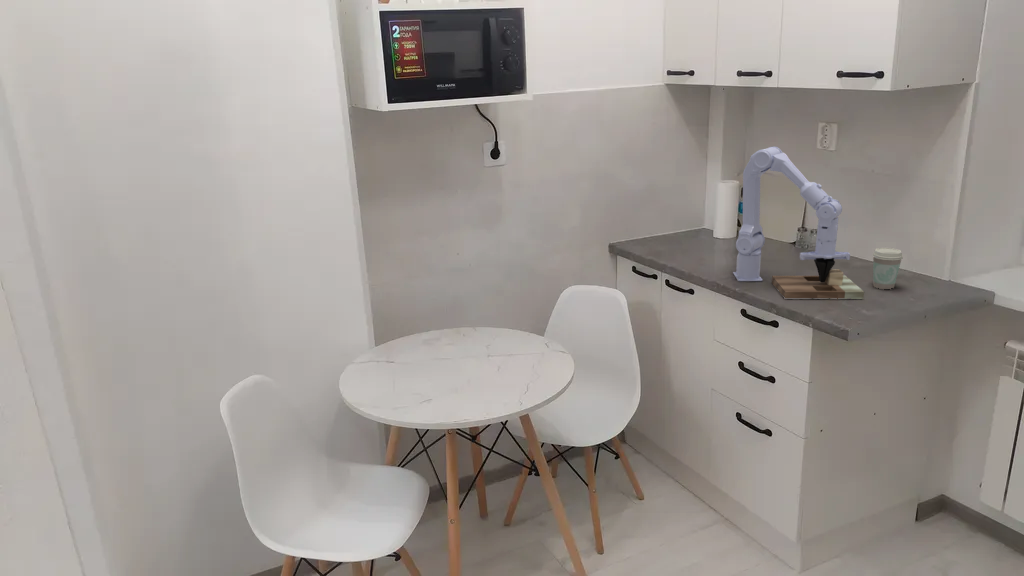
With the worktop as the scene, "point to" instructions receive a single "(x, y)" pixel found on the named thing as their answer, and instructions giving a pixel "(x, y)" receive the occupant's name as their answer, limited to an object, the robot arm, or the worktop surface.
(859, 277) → the worktop surface
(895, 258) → the coffee cup
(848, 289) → the board
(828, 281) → the beech block
